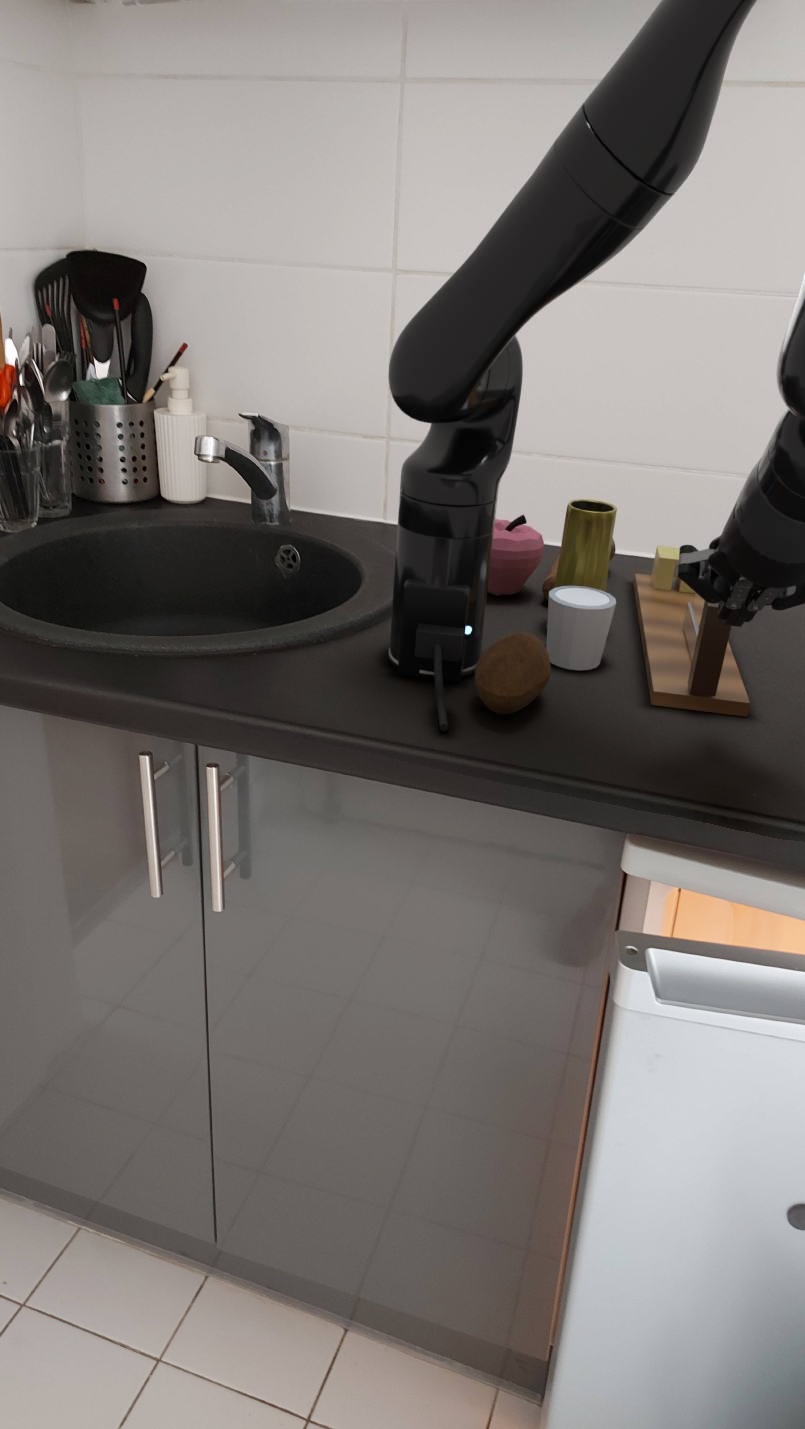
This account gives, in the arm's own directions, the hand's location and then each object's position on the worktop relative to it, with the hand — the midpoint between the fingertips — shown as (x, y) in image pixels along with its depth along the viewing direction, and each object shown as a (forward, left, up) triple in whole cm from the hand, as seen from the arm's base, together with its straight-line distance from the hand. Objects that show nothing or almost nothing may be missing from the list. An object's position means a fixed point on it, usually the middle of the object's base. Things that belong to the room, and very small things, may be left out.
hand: (731, 616), depth 87 cm
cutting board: (+23, 0, -11) cm, 25 cm away
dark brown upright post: (+14, 0, -10) cm, 17 cm away
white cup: (+14, +12, -12) cm, 22 cm away
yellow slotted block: (+38, 0, -10) cm, 39 cm away
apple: (+32, +21, -12) cm, 40 cm away
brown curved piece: (+37, +12, -12) cm, 41 cm away
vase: (+22, +12, -12) cm, 27 cm away
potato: (+1, +18, -12) cm, 22 cm away
